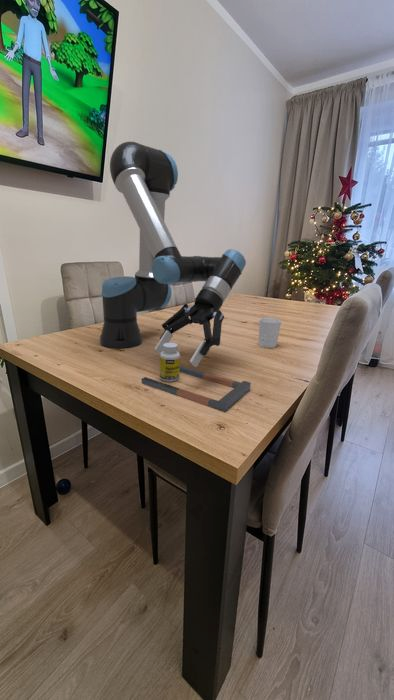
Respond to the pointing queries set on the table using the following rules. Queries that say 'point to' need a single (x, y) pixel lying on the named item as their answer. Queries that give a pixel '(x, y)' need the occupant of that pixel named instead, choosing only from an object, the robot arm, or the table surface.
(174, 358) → the supplement bottle
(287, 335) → the table surface
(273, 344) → the white cup
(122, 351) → the table surface
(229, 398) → the grey brown flat u-shape
